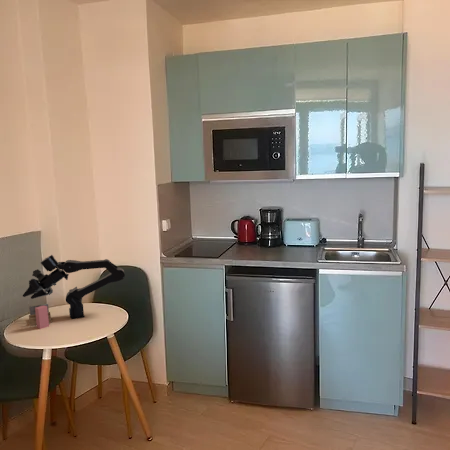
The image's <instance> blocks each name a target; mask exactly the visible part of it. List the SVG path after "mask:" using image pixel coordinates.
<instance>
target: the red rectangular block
mask: <svg viewBox="0 0 450 450" xmlns="http://www.w3.org/2000/svg"><path fill="white" fill-rule="evenodd" d="M42 305H43V306H40V307H36V308H35V313H36V323H37V325H36V328H37V329H40V330H41V329H42V330H43V329H44V328H48V327H50V323H49V320H48V309H49V308H48V309H47V306H44V304H42Z"/></svg>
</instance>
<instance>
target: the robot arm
mask: <svg viewBox="0 0 450 450" xmlns="http://www.w3.org/2000/svg"><path fill="white" fill-rule="evenodd" d="M39 263H40V265H41V266H42V267H43V268H44V269H45V270H46V271H47V272H49V273H48V274H47V273H46V274H44V273H43V272H41V270H40V269H35V270H33V271H32V274H31V275H32V277H34V278H31V279H30V280H28V287H27V288H26V290H25V292H24V293H23V294H22V297H23V298H26V297H28V296H30V299H31V300H33V299H36V298H37V299H38V298H40V297H45V296H48V295H49V296H50V295H52V294H53V292H54V290H53V288H52V287H53V286H54V287H55V286H56V285H57V283H58V282H59V281H61V280H63V278H64V279H65V280H66V281H68V279H69V275H70V274H72V273H76V272H78V271H83V270H93V269H106V270H107V271H108V272H109V273H108V274H107V275H105V276H103V277H101V278H98V279H97V280H94V281H93V282H91V283H89V284H87V285H85V286H83V287H81V288H78V287H77V286H75V287H74V288H72V289H69V291H68V292H67V293H66V294H65V295H66V296H65V303H66V304H68V305H69V308H68V311H69V317H70V319H71V320H75V319H82V318H85V311H84V303H83V298H84V297H85V296H87V295H89V294H91V293H93V292H95V291H97V290H99V289H101V288H103V287H105V286H107V285H109V284H111V283H117V282H120V281H123V280H124V279H125V275H126V274H125V269H123V267H120V266H119V267H118V266H117V265H116V264H114V263H113V262H112V261H110V260H109V259H107V258H105V259H99V260H85V261H81V260H76V259H75V260H74V259H68V260H66V261H58V260H56V258H55V256H54V255H53V254H51V255H49V256H47V257H45V258H44V259H43V260H41V261H40V262H39Z"/></svg>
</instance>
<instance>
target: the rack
mask: <svg viewBox="0 0 450 450" xmlns="http://www.w3.org/2000/svg"><path fill="white" fill-rule="evenodd" d="M43 305H44V306H47V309H48V320H49V324H52V323H53V322H52V316H51V312H50V311H49V310H50V309H49V304H48V303H45V304H38V305H32V306H31V305H30V306H29V307H28V308H29V315H28V325H29V327H33V326H37V323H36V313H35V308H36V307H40V306H43Z"/></svg>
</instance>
